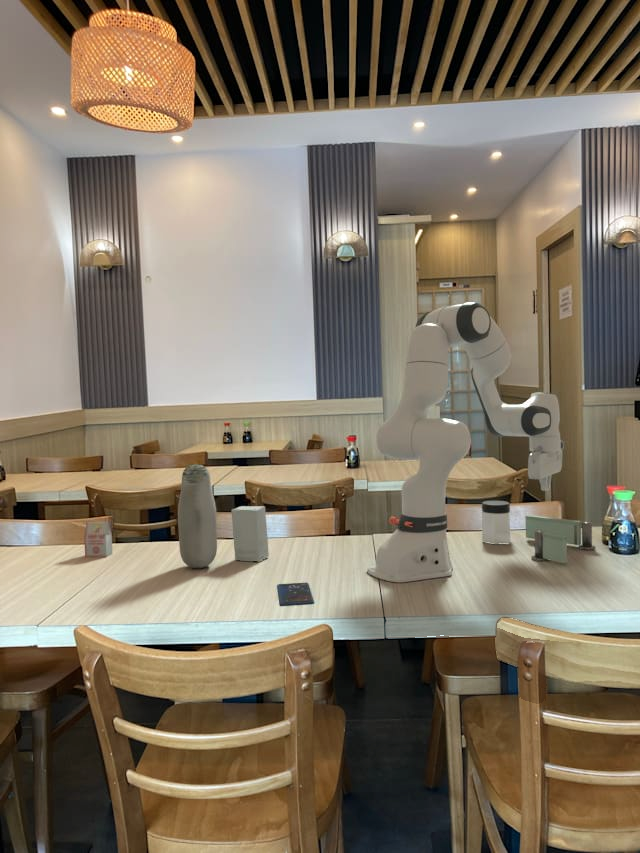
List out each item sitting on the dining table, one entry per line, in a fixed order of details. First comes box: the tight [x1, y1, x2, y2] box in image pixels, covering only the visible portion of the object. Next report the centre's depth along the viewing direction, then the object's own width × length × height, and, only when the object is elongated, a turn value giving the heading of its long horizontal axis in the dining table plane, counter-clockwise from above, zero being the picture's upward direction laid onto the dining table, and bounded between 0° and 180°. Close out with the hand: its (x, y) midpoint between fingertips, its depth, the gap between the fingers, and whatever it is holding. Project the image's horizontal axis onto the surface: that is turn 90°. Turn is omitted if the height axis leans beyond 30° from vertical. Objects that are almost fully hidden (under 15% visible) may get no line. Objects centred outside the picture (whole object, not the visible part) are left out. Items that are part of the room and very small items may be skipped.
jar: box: [481, 500, 511, 544], centre depth 187 cm, size 9×8×12 cm
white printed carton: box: [83, 521, 113, 558], centre depth 184 cm, size 4×7×10 cm, turn 82°
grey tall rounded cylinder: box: [177, 463, 218, 569], centre depth 167 cm, size 10×10×28 cm
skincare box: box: [231, 505, 270, 563], centre depth 174 cm, size 8×6×15 cm
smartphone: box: [277, 582, 315, 607], centre depth 142 cm, size 8×1×15 cm
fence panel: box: [542, 532, 568, 564], centre depth 162 cm, size 2×6×7 cm, turn 31°
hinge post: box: [578, 521, 596, 551], centre depth 176 cm, size 4×4×8 cm
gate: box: [524, 514, 582, 546], centre depth 183 cm, size 16×2×7 cm, turn 46°
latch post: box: [530, 531, 549, 563], centre depth 166 cm, size 6×5×8 cm
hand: (545, 490), depth 189 cm, fingers closed
